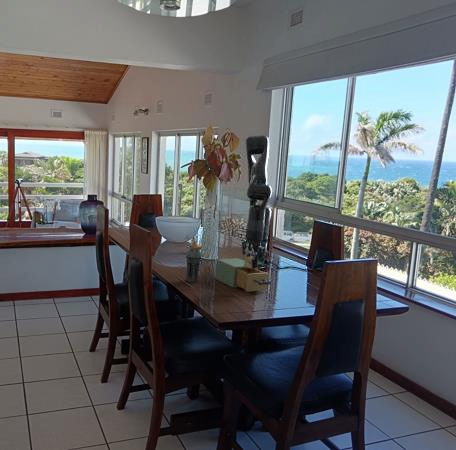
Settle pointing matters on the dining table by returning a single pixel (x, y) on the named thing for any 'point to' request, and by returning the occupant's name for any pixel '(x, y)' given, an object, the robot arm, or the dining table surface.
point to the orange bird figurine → (193, 244)
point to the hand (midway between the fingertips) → (250, 266)
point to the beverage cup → (193, 263)
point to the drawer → (251, 279)
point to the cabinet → (228, 270)
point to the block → (249, 261)
